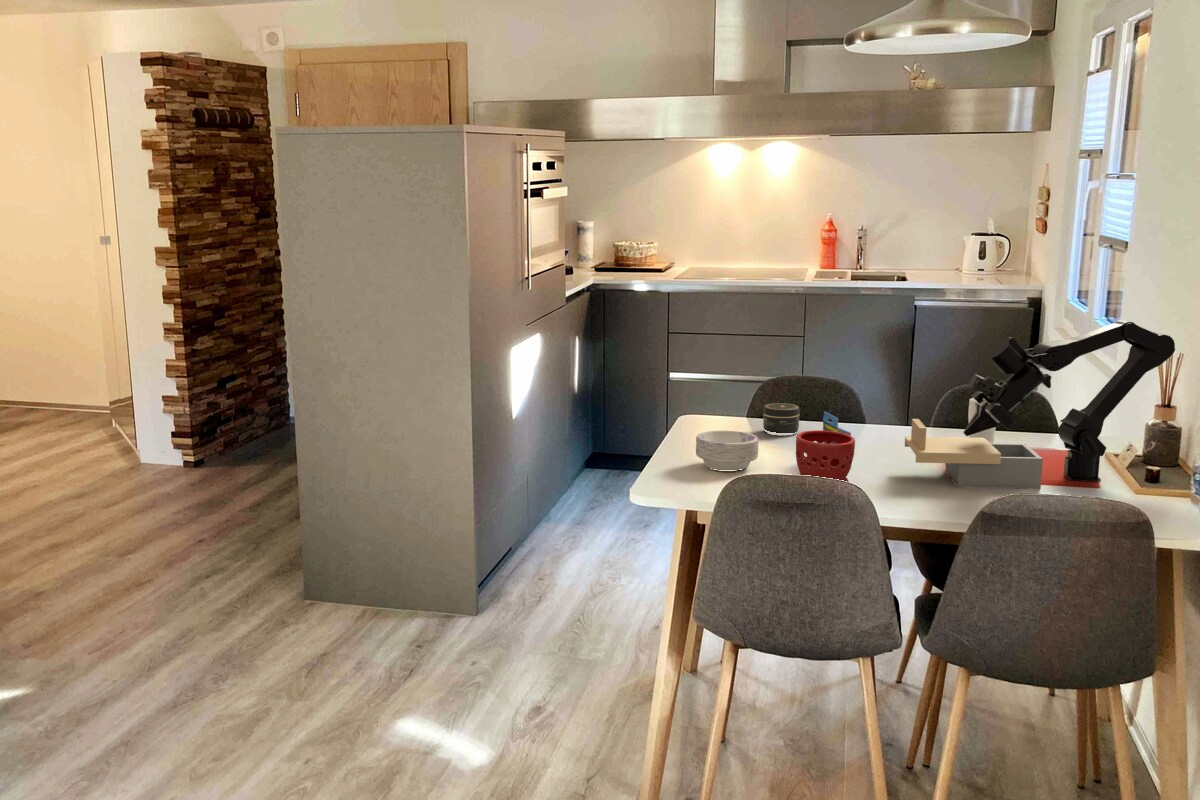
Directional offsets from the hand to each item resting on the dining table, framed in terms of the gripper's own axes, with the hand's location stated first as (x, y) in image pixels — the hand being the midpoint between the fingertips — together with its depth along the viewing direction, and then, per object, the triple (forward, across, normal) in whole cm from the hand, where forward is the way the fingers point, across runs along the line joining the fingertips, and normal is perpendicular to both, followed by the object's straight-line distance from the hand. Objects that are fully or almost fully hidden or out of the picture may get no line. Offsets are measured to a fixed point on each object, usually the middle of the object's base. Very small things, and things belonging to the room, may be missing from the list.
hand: (964, 434), depth 244 cm
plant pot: (+30, +9, -16) cm, 35 cm away
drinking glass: (+2, -20, +14) cm, 24 cm away
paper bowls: (+46, -7, -31) cm, 56 cm away
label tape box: (+27, -14, -12) cm, 33 cm away
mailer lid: (+5, 0, +1) cm, 6 cm away
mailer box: (+3, 0, +12) cm, 12 cm away
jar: (+36, -46, -20) cm, 62 cm away
